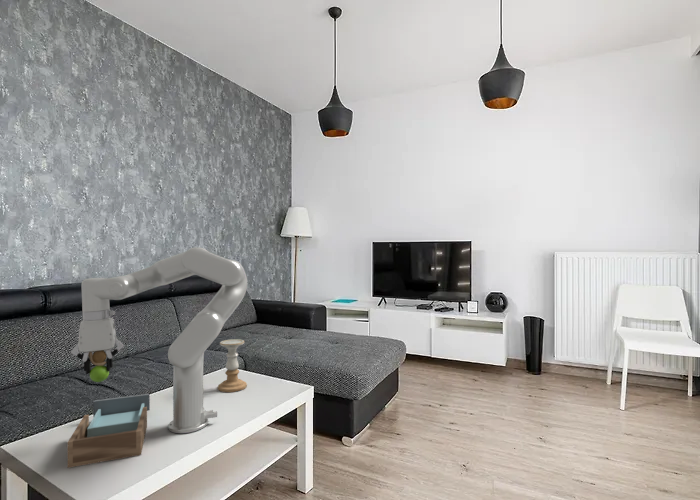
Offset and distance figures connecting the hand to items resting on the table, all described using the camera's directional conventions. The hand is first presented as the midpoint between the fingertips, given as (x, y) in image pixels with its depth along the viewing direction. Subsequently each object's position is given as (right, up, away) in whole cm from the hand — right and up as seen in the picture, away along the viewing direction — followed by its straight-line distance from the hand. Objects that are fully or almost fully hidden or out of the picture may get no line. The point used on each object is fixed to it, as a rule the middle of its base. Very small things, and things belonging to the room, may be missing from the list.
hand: (98, 370), depth 131 cm
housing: (+9, -21, -8) cm, 24 cm away
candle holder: (+31, -21, +44) cm, 58 cm away
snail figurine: (0, -4, 0) cm, 4 cm away
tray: (+3, -19, +5) cm, 20 cm away
